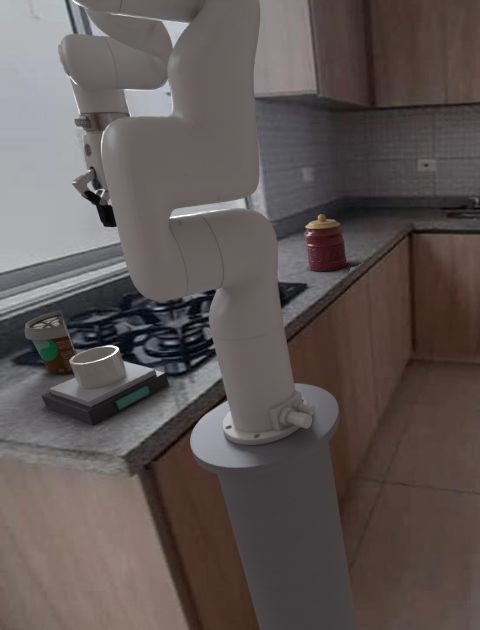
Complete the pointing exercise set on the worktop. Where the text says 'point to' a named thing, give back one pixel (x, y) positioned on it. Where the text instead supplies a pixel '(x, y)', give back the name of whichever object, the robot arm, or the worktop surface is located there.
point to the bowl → (98, 367)
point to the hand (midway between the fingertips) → (136, 222)
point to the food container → (52, 342)
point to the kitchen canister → (325, 245)
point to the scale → (104, 394)
